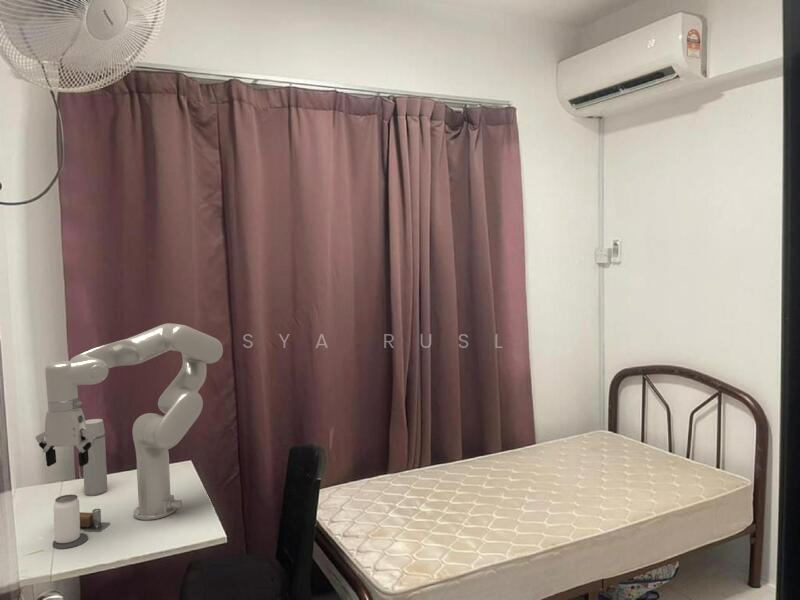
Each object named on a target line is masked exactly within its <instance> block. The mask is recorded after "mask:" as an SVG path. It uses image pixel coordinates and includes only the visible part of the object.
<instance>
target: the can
mask: <svg viewBox="0 0 800 600" xmlns="http://www.w3.org/2000/svg"><path fill="white" fill-rule="evenodd" d="M79 500H80V499H78V495H77V494H71V493H70V494H65V495H60V496H58V497H56V498H55V502H54V504H53V538H54V539H53V541H54V540H55V542H57V543H59V544H66V543H71V542H74V541H76V540H77V539H78V538H79V537H80V533H81V526H80V511H81V510H80V501H79Z"/></svg>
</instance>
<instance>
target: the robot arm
mask: <svg viewBox="0 0 800 600" xmlns="http://www.w3.org/2000/svg"><path fill="white" fill-rule="evenodd" d="M223 347H224V346H223V345H222V342H221V341H220V340H219V339H217V338H215V336H214V337H213V336H211V335H209V334H207V333H204V332H202V331H199V330H197V329H196V328H195V329H194V328H193V327H190V326H188V325H184V324H178V323H169V322H168V323H167V322H166V323H164V324H160V325H157V326H155V327H153V328H151V329H148V330H146V331H142V332H141V333H138V334H136V335H132V336H130V337H127V338H125V339H121V340H117V341H114V342H110V343H107V344H103V345H100V346H98V347H94V348H91V349H89V350H87V351H84V352H82V353H79V354H77V355H75V356H73V357H72V358H71V359H70V360H64V361H54V362H50V363H48V364H47V365H46V366H45V372H44V373H45V374H44V375H45V383H46V385H45V386H46V397H47V398H46V399H47V411H46V415H45V423H44V431H43V432H41V433H40V434H38V435H36V436H35V440H36V442H37V444H38V446H39V447H40V448H41V449H42V452H43V453H45V462H46V466H47V467H51V466H52V465H55V464H56V463H57V454H56V449H54V448H55V447H76V448H77V449H78V450H79V452H78V463H79V464H78V467H79V466H81V467H83V466H84V465H86V464H87V463H88V461H89V457H88V450H89V449H90V447H91V446H92V445H93V442H94V441H95V438H96V435H94V434H92V433H90V432H88V431H87V428H86V422H85V421H86V418H85V414H84V412H83V409H82V408H79V407H82V405H83V402H82V400H81V401H80V400H79V395H78V394H79V393H78V386H86V385H87V386H88V385H90V386H91V385H96V384H100V383H101V382H103V381H105V379H106V378H107V377H108V375H109V369H112V368H115V367H122V366H134V365H139V364H142V363H144V362H147V361H148V360H151V359H153V358H155V357H158V356H160V355H162V354H164V353H167V352H169V351H175V352H180V353H181V357H182V366H181V369H180V370H179V372H178V374H177V375H176V376H175V378H174V379H173V380H172V381H171V383H170V384H169V385H168V386H167V387H166V388H165V390H164V391H163V392H162V394H161V395H160V397H159V398H158V402H157V407H158V409H159V410H160V411H161V412H162V413H163V414H164V415H161V414H158V413H153V412H151V413H150V412H148V413H143V414H141V415H140V416H138V418H136V420H135V421H134V422H133V425H132V431H131V433H132V440H133V443H134V449H135V456H136V458H135V459H136V475H137V477H136V478H137V498H138V503H137V504H138V506H137V507H136V508H134V510H133V518H136V519H138V520H141V521H142V520H143V521H151V520H157V519H161V518H165V517H168V516H170V515H171V514H173V513H174V512H175V511H176V510H177V509H179V510H180V509H182V507H183V500H182V499H175V496H174V494H171V472H170V454H169V449H172V448H173V447H175V446H176V445H178V444H179V442H180V441H181V440H182V439H183V438H184V436H185V435H186V434H187V433H188V431H189V430H190V428H191V427H192V426H193V425H194V423H196V421H197V419H198V418H199V416H200V414H201V412H202V410H203V407H204V406H203V405H204V403H203V402H204V401H203V397H202V395H201V394H200V393H199V391H200V389H201V388H202V386H203V385H204V383H205V381H206V378H207V364H215V363H216V362H218V361H219V360H220V359H221V358H222V356H223V353H224V348H223ZM87 438H88V442H87V443H86V442H85V441H86V440H87Z"/></svg>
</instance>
